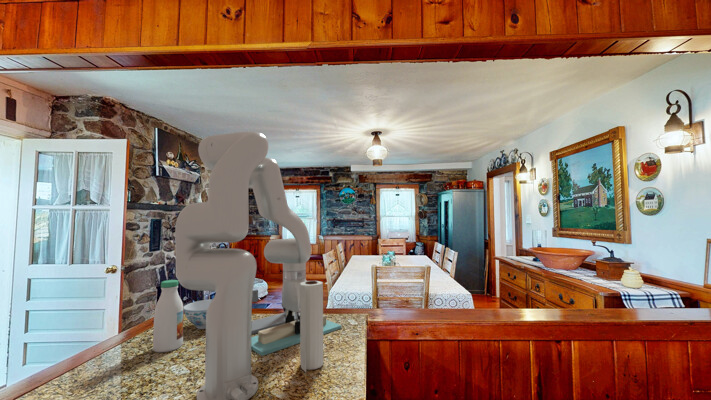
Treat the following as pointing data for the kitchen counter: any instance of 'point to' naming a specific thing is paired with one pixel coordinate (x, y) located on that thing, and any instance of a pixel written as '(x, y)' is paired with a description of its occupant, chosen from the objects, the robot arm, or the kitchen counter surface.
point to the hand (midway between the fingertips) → (294, 330)
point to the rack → (267, 318)
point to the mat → (286, 340)
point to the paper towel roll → (311, 325)
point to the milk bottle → (168, 319)
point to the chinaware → (197, 312)
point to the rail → (279, 332)
